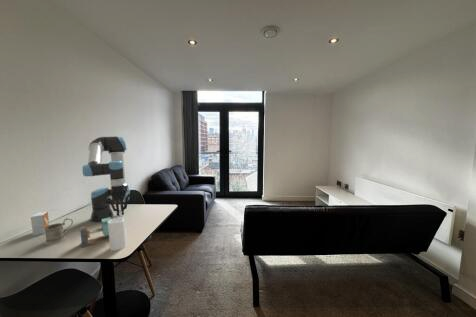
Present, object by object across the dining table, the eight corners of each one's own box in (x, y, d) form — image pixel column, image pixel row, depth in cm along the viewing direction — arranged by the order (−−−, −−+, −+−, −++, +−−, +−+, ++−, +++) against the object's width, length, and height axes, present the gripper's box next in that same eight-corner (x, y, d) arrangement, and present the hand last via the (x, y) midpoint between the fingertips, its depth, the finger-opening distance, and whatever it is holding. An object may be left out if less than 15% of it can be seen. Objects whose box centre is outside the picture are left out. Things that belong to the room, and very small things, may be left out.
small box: (45, 233, 137) (43, 215, 136) (32, 236, 134) (30, 217, 133) (50, 229, 144) (47, 211, 143) (38, 231, 142) (35, 212, 140)
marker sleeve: (102, 232, 130) (101, 219, 129) (111, 230, 133) (110, 217, 132) (104, 236, 125) (102, 222, 124) (113, 233, 128) (112, 220, 127)
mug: (48, 246, 120) (45, 227, 119) (42, 242, 125) (40, 223, 124) (77, 236, 132) (75, 218, 131) (71, 232, 138) (69, 215, 136)
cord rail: (81, 243, 124) (79, 227, 122) (117, 233, 136) (116, 218, 135) (82, 247, 118) (80, 231, 117) (119, 236, 130) (118, 221, 129)
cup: (114, 243, 122) (112, 217, 121) (128, 242, 123) (126, 217, 121) (107, 251, 114) (104, 223, 112) (122, 250, 115) (120, 222, 113)
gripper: (106, 187, 124) (110, 225, 126) (130, 184, 132) (133, 219, 135) (104, 185, 129) (108, 221, 132) (127, 182, 138) (130, 215, 140)
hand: (120, 220), depth 133 cm, fingers closed
